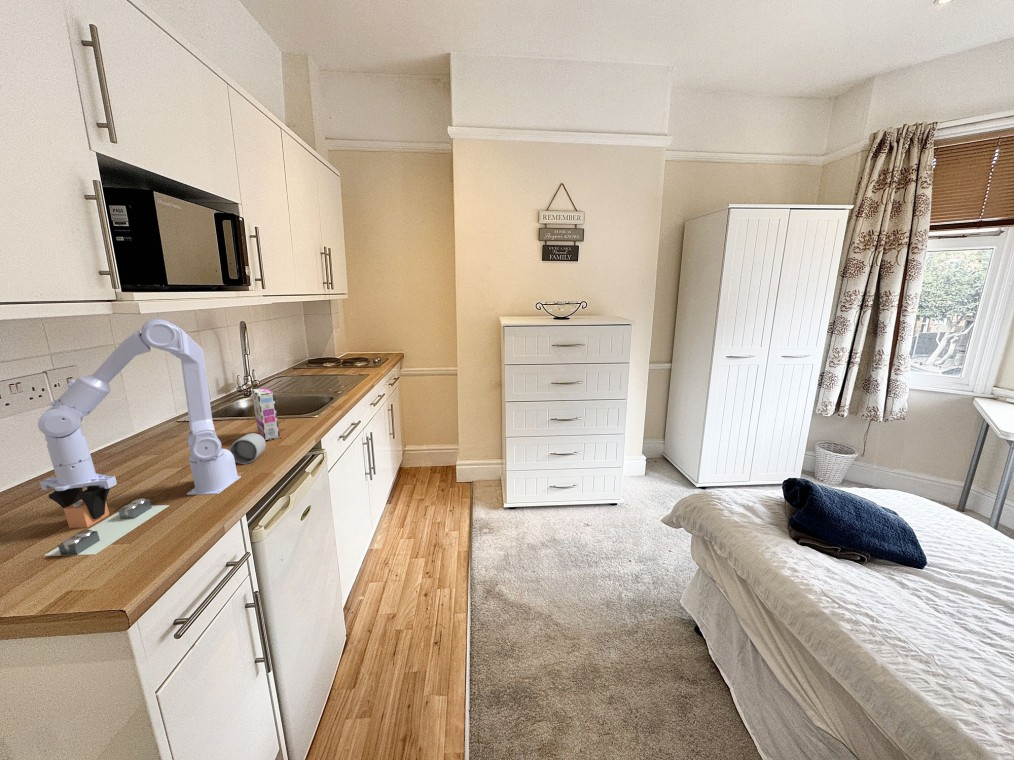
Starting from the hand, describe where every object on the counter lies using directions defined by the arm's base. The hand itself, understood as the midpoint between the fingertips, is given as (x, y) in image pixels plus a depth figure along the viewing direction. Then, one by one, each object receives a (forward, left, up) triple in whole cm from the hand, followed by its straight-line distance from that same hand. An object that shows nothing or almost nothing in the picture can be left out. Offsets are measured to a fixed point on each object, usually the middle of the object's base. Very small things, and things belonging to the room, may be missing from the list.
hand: (88, 516), depth 90 cm
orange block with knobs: (0, 0, -1) cm, 1 cm away
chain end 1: (+10, +8, -1) cm, 13 cm away
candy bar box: (-53, +10, -2) cm, 54 cm away
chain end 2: (-3, +8, -1) cm, 9 cm away
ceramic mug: (-33, +14, -2) cm, 36 cm away
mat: (+3, +8, -1) cm, 9 cm away
